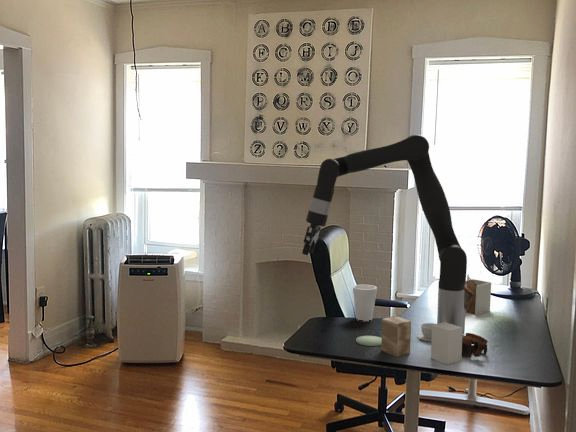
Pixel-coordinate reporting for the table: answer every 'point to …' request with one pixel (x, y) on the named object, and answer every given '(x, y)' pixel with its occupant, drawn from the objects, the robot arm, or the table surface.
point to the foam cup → (364, 301)
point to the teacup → (426, 332)
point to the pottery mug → (478, 345)
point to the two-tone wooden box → (477, 296)
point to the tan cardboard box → (396, 336)
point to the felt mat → (369, 340)
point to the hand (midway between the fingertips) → (307, 253)
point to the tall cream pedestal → (446, 343)
